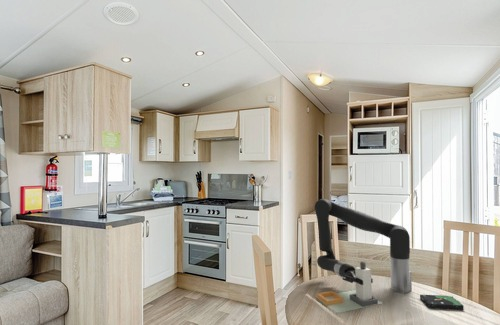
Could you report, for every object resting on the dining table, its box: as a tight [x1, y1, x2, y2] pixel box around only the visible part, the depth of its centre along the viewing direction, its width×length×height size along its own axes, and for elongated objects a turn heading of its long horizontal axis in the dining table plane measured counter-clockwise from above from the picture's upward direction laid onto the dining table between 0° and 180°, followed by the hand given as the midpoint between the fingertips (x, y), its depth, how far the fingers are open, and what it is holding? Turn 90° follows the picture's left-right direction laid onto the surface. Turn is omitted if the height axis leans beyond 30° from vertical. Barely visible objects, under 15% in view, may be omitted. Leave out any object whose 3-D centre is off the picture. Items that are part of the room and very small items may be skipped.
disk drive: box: [419, 294, 465, 311], centre depth 141 cm, size 10×3×15 cm
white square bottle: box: [354, 261, 373, 301], centre depth 143 cm, size 5×5×17 cm
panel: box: [315, 289, 383, 315], centre depth 144 cm, size 26×17×3 cm, turn 110°
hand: (367, 281), depth 141 cm, fingers closed on white square bottle, 5 cm apart
